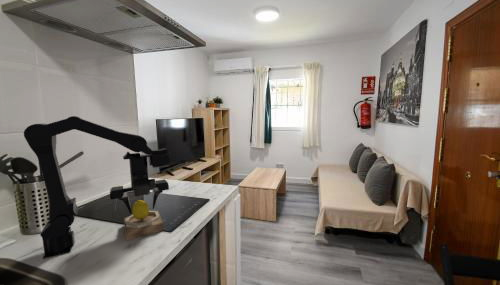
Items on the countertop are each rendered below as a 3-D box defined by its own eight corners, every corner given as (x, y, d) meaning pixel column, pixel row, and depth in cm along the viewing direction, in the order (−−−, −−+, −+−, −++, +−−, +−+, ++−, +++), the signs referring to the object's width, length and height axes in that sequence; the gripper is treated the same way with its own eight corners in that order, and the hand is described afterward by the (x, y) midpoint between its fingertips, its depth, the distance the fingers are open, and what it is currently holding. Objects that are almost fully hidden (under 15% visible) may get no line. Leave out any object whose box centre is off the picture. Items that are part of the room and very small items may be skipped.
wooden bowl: (125, 240, 73) (124, 228, 72) (124, 225, 83) (124, 214, 83) (163, 230, 79) (162, 219, 78) (158, 217, 89) (157, 207, 89)
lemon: (146, 214, 84) (142, 195, 83) (153, 218, 81) (149, 198, 79) (131, 221, 80) (127, 201, 79) (138, 225, 77) (134, 205, 75)
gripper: (107, 179, 67) (112, 227, 69) (170, 170, 76) (173, 213, 78) (108, 171, 76) (112, 213, 78) (164, 165, 86) (167, 202, 88)
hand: (142, 210), depth 80 cm, fingers open, 7 cm apart
